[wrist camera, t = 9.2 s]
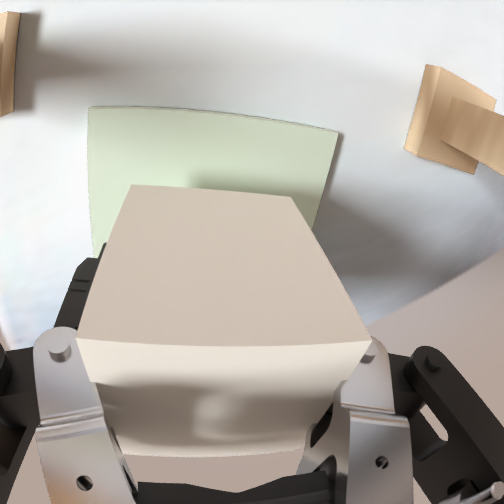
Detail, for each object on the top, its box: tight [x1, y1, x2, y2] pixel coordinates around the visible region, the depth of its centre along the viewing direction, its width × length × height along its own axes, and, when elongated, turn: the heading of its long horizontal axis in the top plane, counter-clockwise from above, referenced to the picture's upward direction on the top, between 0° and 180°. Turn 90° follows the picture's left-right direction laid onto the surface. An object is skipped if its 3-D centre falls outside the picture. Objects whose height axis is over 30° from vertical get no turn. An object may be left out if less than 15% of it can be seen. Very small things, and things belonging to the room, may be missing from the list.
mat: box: [87, 106, 338, 258], centre depth 13 cm, size 9×9×1 cm
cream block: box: [76, 184, 372, 457], centre depth 9 cm, size 5×5×6 cm
